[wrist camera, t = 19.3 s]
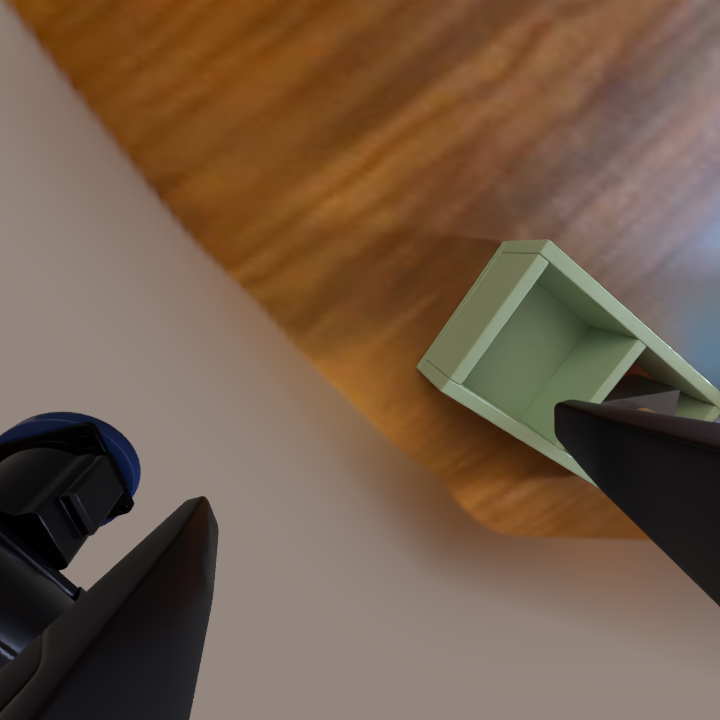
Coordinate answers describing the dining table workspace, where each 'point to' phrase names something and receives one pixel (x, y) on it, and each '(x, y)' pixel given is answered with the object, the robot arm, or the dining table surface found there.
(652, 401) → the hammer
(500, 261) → the divided tray
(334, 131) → the dining table surface
